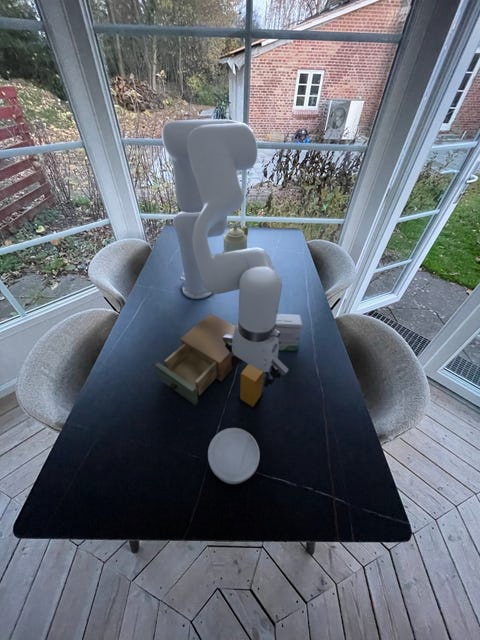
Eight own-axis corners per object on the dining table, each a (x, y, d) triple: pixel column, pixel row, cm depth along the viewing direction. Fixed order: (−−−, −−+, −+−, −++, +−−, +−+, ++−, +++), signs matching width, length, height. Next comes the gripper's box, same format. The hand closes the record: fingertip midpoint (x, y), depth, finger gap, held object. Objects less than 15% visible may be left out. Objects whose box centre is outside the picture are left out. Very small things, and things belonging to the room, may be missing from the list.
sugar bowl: (226, 243, 136) (225, 214, 126) (247, 245, 135) (249, 216, 125) (222, 258, 125) (221, 228, 115) (245, 260, 125) (246, 229, 114)
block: (239, 398, 72) (240, 373, 64) (248, 387, 75) (250, 361, 67) (252, 407, 71) (255, 381, 62) (261, 395, 73) (264, 369, 65)
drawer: (192, 408, 69) (189, 394, 64) (156, 382, 75) (151, 367, 70) (224, 373, 77) (223, 358, 73) (190, 351, 83) (187, 336, 78)
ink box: (294, 339, 89) (300, 313, 80) (296, 351, 85) (303, 325, 77) (269, 338, 89) (272, 312, 81) (269, 350, 85) (273, 323, 77)
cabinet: (221, 381, 76) (220, 363, 70) (183, 357, 82) (179, 338, 76) (247, 351, 84) (248, 332, 78) (212, 332, 90) (210, 313, 84)
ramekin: (265, 480, 58) (267, 472, 55) (215, 496, 56) (214, 489, 52) (249, 431, 66) (250, 421, 62) (205, 444, 63) (203, 434, 60)
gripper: (303, 333, 53) (289, 380, 65) (233, 299, 60) (232, 347, 72) (285, 357, 48) (274, 403, 60) (211, 317, 55) (215, 366, 67)
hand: (251, 373), depth 66 cm, fingers open, 9 cm apart
